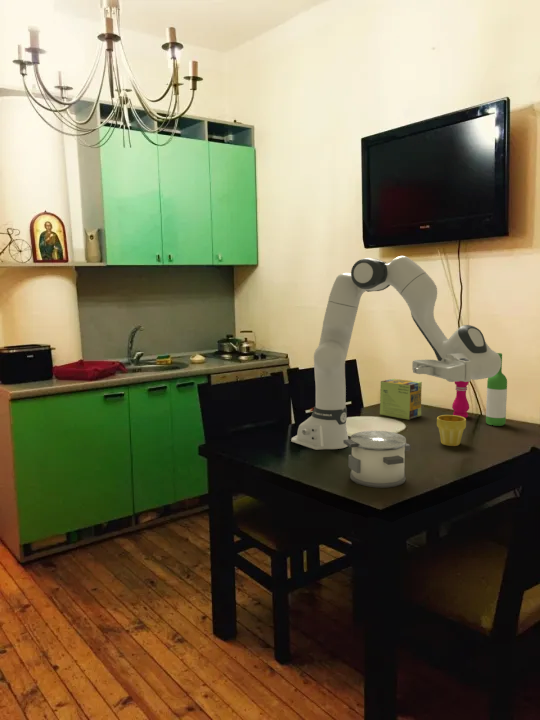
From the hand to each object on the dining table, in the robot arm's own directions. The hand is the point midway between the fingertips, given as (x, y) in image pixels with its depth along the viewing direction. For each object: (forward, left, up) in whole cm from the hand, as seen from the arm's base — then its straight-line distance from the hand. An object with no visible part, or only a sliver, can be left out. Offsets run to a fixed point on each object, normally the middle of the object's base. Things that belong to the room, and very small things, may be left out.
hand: (415, 370), depth 178 cm
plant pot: (-5, +39, -33) cm, 52 cm away
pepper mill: (-20, +82, -33) cm, 91 cm away
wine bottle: (-3, +78, -33) cm, 85 cm away
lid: (-7, -12, -22) cm, 25 cm away
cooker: (-6, -11, -33) cm, 35 cm away
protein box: (-42, +68, -33) cm, 87 cm away
